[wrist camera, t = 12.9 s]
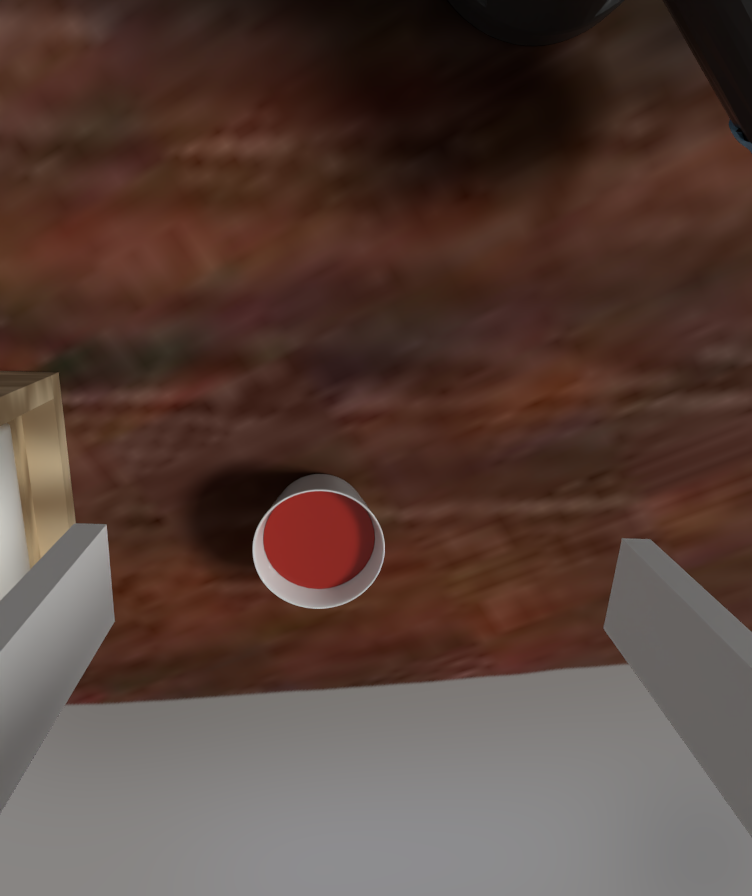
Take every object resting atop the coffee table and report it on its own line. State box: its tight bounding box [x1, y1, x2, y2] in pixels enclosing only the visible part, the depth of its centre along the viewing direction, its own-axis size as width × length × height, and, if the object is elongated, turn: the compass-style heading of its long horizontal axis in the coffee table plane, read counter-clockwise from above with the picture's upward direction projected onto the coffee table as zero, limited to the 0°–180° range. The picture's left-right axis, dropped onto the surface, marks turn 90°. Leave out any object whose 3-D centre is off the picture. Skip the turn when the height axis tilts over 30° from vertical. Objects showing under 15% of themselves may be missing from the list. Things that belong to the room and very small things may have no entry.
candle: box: [252, 474, 385, 609], centre depth 44 cm, size 9×9×6 cm
